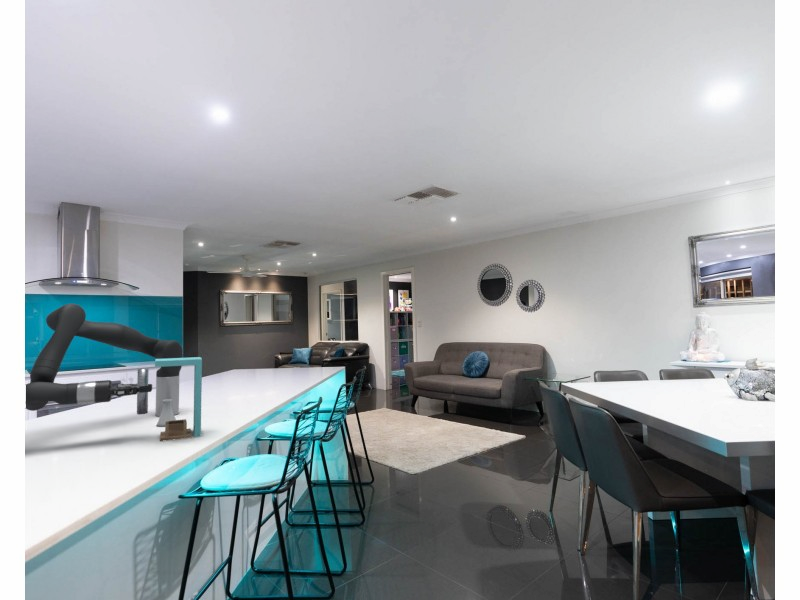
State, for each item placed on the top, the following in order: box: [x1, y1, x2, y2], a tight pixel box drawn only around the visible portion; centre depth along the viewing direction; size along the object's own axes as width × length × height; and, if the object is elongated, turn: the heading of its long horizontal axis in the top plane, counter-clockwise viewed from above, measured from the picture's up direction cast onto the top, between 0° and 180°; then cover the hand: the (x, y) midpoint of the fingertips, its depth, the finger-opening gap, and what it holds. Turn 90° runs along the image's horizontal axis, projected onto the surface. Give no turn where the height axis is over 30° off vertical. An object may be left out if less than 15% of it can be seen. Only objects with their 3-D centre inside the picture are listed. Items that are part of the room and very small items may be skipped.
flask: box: [156, 399, 177, 427], centre depth 173 cm, size 7×7×10 cm
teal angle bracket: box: [154, 356, 203, 438], centre depth 157 cm, size 10×15×28 cm, turn 118°
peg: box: [136, 368, 149, 416], centre depth 155 cm, size 3×3×16 cm
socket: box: [159, 418, 193, 442], centre depth 156 cm, size 10×10×5 cm
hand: (151, 387), depth 156 cm, fingers closed on peg, 3 cm apart
